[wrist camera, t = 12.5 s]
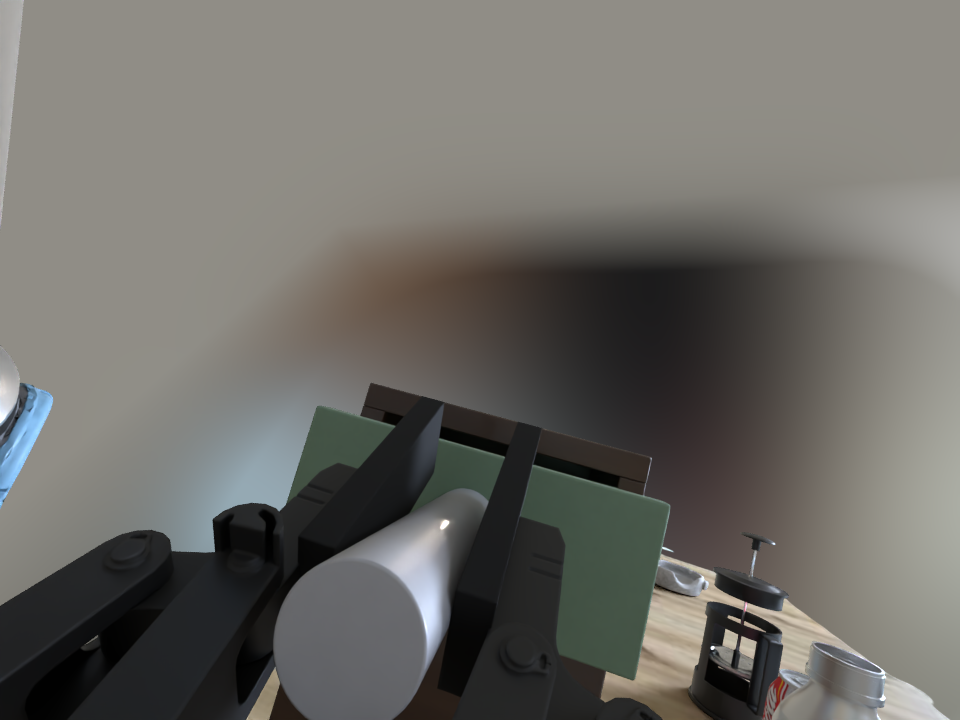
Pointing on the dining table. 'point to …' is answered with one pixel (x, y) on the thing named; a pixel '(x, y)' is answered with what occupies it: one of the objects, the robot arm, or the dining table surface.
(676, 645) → the dining table surface
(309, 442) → the drawer
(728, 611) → the french press
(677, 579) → the dish
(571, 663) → the cabinet
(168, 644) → the robot arm
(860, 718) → the plastic bottle
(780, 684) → the soda can
